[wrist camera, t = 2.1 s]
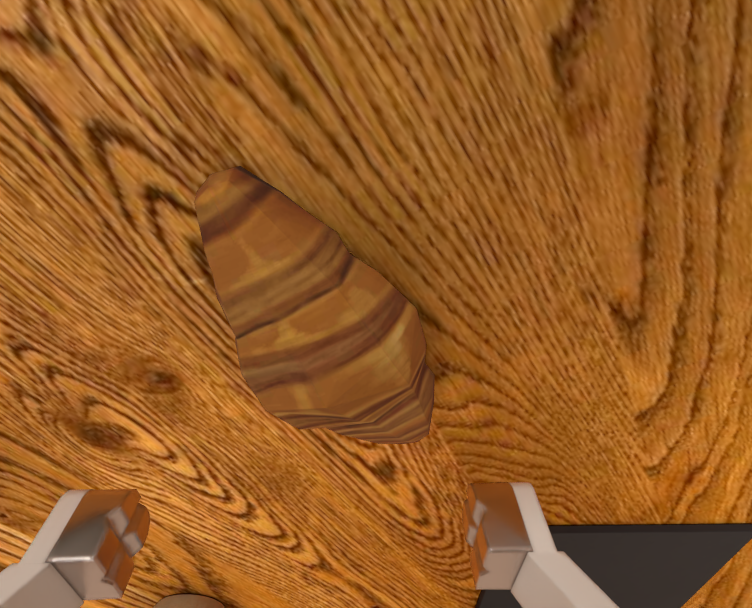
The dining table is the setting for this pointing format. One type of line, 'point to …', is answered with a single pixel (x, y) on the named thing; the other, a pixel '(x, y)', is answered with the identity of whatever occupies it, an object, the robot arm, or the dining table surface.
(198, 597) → the flower pot
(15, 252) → the dining table surface
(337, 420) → the croissant
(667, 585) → the mat
